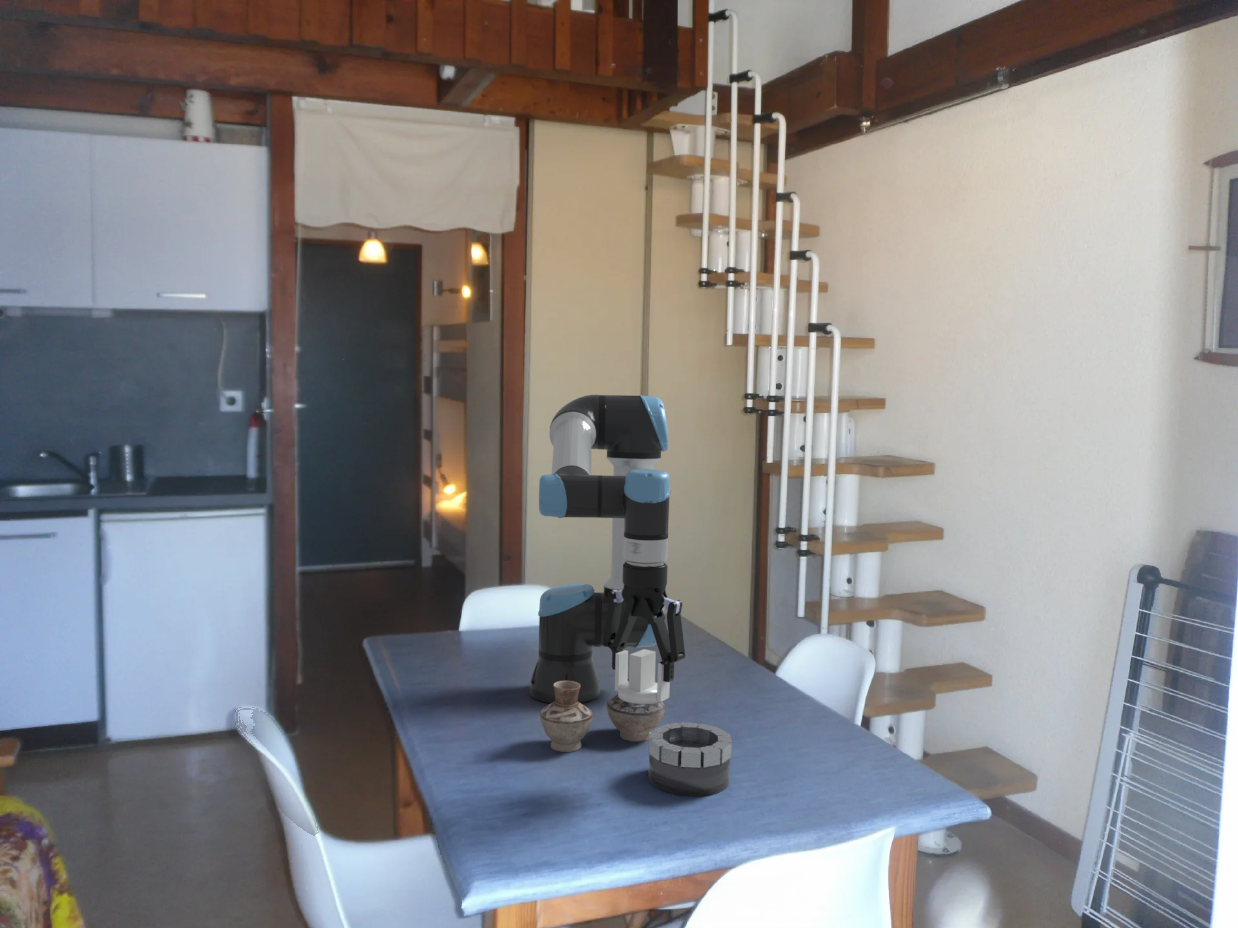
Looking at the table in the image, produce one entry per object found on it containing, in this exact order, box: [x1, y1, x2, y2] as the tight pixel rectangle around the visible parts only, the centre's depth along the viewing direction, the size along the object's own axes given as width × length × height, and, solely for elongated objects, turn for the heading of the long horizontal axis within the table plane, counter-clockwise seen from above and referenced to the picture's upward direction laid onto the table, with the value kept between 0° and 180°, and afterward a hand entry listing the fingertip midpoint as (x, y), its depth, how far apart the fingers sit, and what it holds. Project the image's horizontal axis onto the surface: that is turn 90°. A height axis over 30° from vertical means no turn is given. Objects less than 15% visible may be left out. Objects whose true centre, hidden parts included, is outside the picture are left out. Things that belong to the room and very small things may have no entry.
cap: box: [617, 648, 659, 704], centre depth 170 cm, size 8×8×8 cm
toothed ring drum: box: [648, 721, 733, 797], centre depth 173 cm, size 14×14×8 cm
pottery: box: [539, 677, 666, 753], centre depth 189 cm, size 11×25×12 cm, turn 116°
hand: (641, 693), depth 170 cm, fingers closed on cap, 8 cm apart
